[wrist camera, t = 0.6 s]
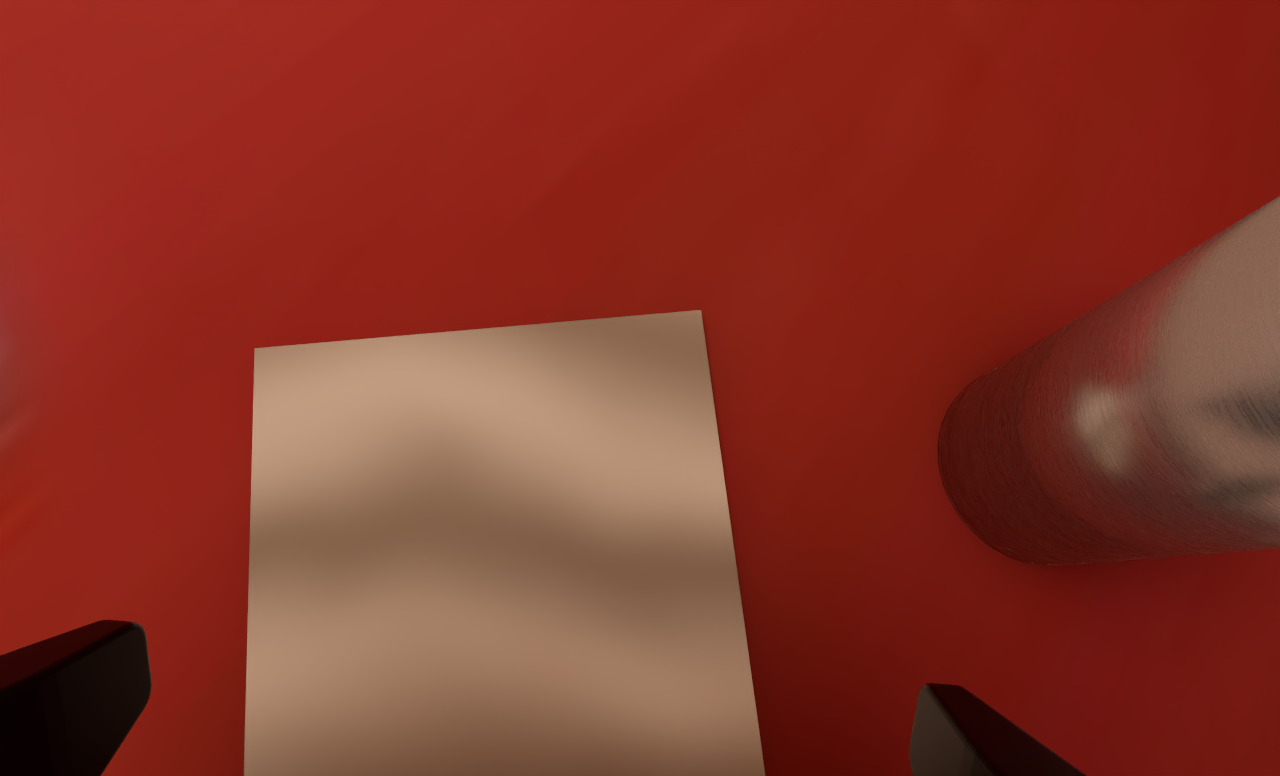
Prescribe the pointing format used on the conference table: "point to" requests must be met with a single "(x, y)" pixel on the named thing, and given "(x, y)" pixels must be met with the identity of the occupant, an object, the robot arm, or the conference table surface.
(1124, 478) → the steel flask
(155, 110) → the conference table surface
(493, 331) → the beige square tile
